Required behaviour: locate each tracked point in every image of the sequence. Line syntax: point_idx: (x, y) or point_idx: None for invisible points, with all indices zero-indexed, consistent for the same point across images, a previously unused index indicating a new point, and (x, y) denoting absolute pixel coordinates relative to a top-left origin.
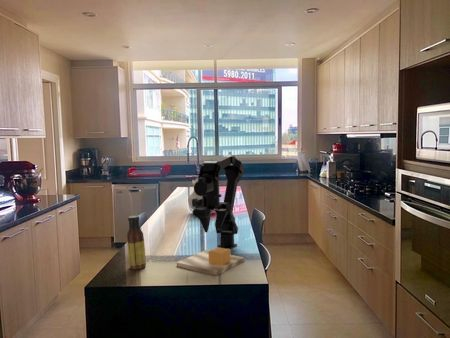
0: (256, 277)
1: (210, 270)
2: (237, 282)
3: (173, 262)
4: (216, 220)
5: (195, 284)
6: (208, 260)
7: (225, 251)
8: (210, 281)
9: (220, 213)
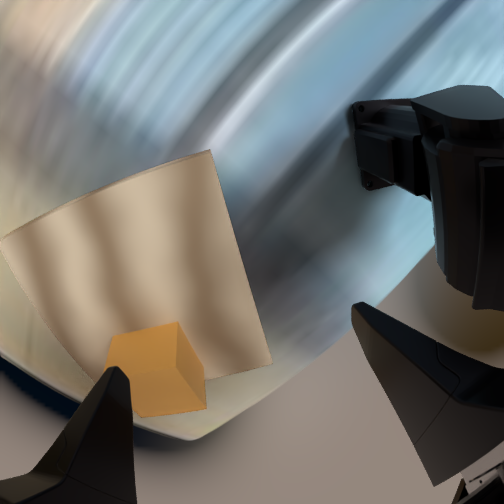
0: (201, 426)
1: (94, 381)
2: (143, 423)
3: (5, 178)
4: (485, 178)
5: (46, 382)
6: (122, 315)
7: (171, 413)
8: (83, 393)
9: (448, 444)
